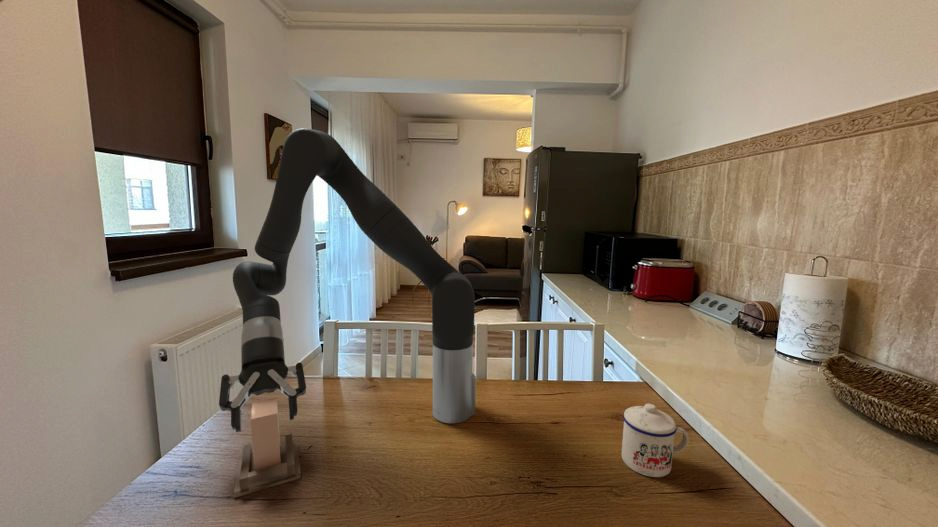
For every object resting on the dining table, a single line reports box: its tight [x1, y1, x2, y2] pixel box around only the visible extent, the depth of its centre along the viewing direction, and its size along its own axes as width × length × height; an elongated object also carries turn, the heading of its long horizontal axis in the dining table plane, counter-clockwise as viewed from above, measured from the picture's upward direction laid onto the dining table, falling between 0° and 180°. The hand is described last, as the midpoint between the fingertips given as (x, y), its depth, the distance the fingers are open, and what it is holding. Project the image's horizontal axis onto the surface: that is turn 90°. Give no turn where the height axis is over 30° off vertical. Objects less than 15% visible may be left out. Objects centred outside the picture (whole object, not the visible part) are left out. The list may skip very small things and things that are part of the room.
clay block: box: [250, 397, 281, 471], centre depth 66 cm, size 4×6×11 cm, turn 28°
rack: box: [233, 433, 302, 498], centre depth 67 cm, size 10×10×3 cm
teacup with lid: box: [621, 403, 690, 478], centre depth 69 cm, size 12×9×12 cm
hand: (266, 424), depth 67 cm, fingers open, 8 cm apart
